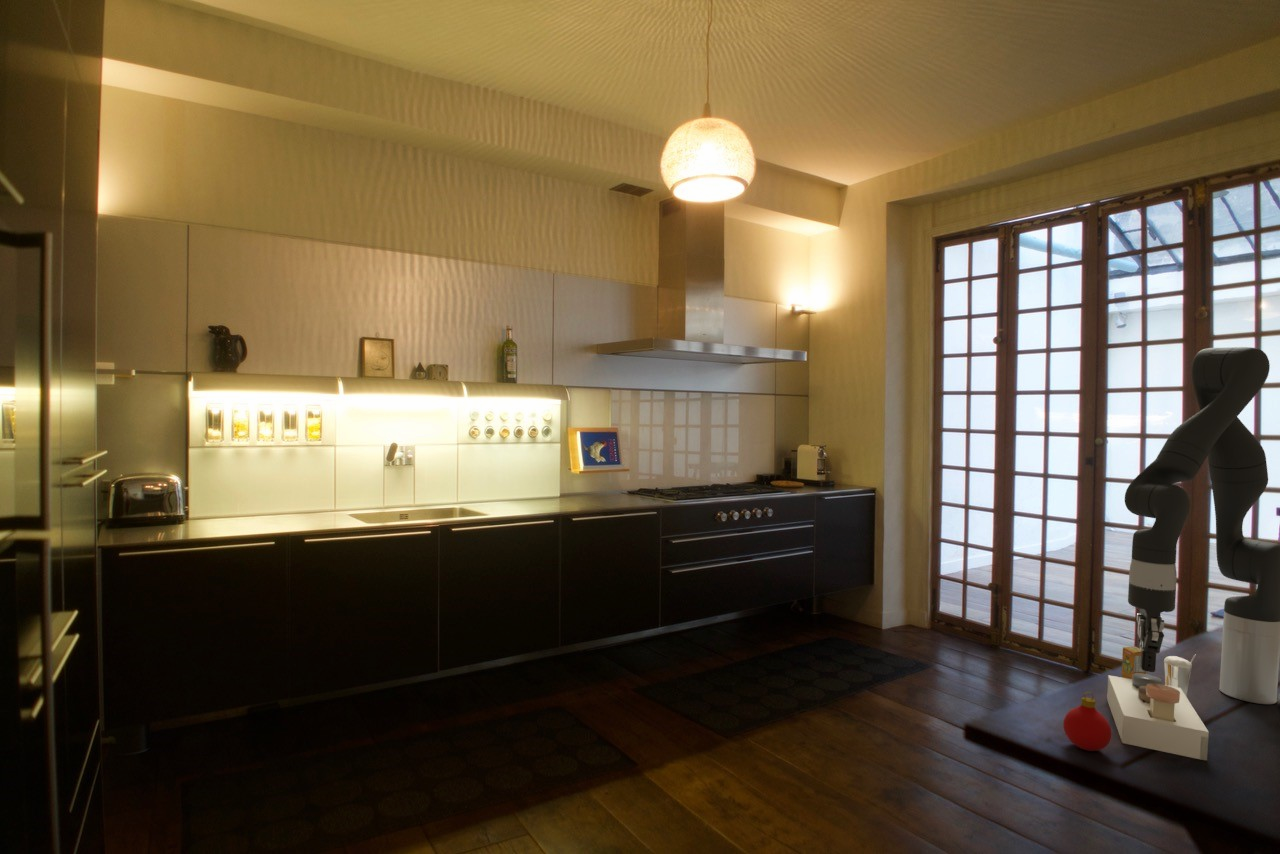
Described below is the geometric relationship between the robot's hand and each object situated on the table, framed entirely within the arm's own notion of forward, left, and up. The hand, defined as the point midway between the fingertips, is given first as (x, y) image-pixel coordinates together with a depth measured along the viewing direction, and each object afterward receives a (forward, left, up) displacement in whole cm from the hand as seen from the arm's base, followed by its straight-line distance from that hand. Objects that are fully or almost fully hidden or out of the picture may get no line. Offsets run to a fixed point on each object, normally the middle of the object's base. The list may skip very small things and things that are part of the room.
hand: (1147, 670), depth 139 cm
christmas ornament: (+25, -12, -9) cm, 29 cm away
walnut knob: (+8, 0, -8) cm, 11 cm away
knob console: (+8, 0, -8) cm, 11 cm away
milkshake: (-10, +7, -9) cm, 15 cm away
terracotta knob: (+15, 0, -5) cm, 16 cm away
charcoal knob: (0, 0, -8) cm, 8 cm away
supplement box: (-8, -1, -9) cm, 12 cm away
